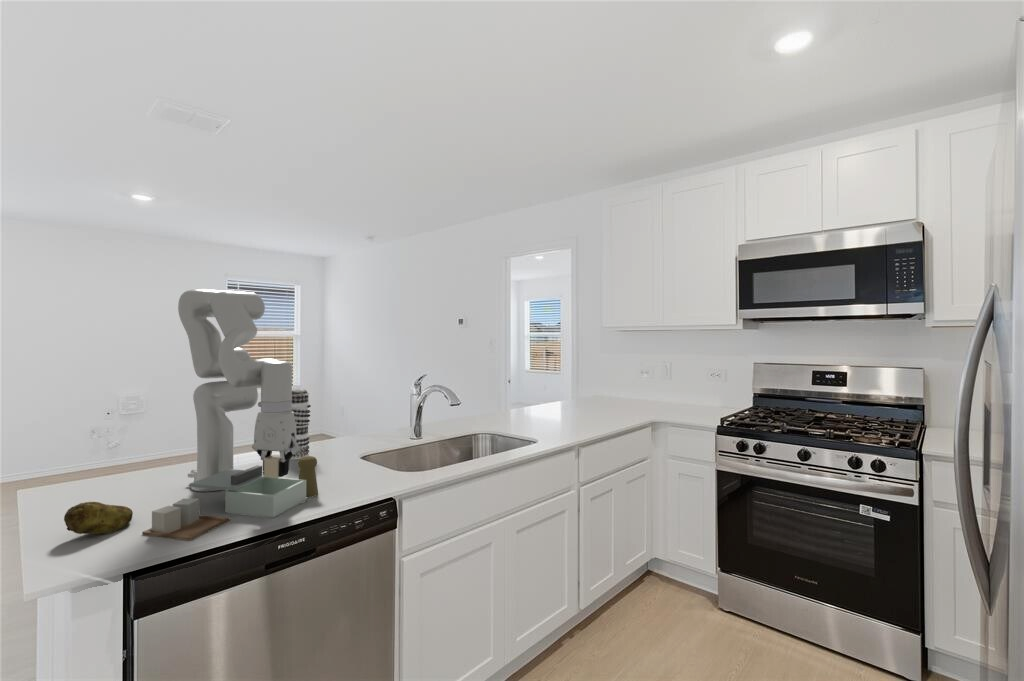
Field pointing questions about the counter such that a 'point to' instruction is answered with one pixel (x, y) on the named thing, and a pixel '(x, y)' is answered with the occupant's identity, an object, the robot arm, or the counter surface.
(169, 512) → the grey block
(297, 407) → the decorative candle
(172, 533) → the tray
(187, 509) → the grey block
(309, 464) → the cork
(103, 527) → the potato
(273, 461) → the sandstone block
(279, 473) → the robot arm
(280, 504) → the bin
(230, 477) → the lid
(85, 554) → the counter surface
